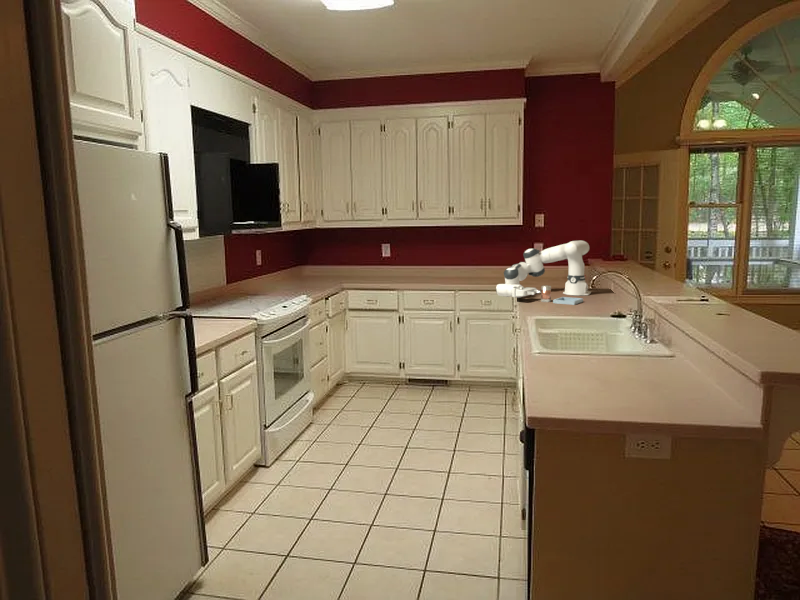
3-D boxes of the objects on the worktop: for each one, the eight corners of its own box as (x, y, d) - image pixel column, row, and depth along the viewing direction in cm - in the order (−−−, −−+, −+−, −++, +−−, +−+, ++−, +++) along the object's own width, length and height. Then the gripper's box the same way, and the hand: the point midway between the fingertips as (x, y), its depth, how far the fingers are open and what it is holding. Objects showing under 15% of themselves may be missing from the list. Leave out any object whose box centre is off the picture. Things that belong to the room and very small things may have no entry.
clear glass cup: (543, 301, 386) (543, 285, 384) (552, 302, 382) (552, 285, 380) (539, 302, 381) (540, 286, 379) (548, 303, 377) (548, 286, 376)
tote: (562, 301, 386) (562, 296, 386) (583, 302, 378) (583, 298, 377) (553, 304, 373) (553, 299, 373) (574, 306, 365) (574, 301, 365)
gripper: (524, 294, 400) (543, 295, 392) (511, 297, 384) (531, 299, 376) (524, 284, 400) (543, 286, 391) (511, 288, 383) (531, 289, 375)
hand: (537, 292), depth 384 cm, fingers open, 8 cm apart
